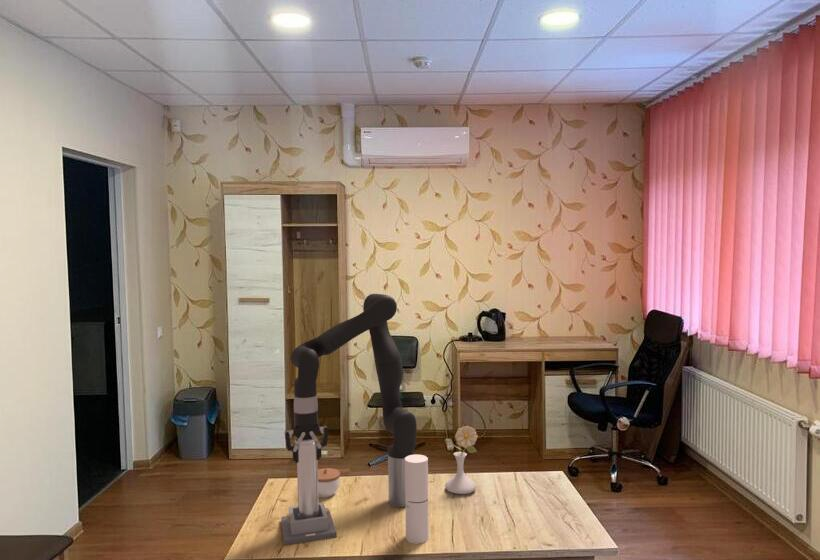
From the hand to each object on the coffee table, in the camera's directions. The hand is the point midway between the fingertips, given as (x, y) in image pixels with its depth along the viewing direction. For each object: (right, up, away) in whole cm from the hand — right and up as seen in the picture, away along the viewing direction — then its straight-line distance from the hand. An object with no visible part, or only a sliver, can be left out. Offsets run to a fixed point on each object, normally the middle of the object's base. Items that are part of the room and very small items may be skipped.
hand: (307, 460), depth 181 cm
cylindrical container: (+35, -22, -6) cm, 42 cm away
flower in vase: (+53, -21, +28) cm, 63 cm away
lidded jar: (+2, -21, +27) cm, 35 cm away
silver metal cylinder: (0, -18, +1) cm, 18 cm away
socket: (0, -22, +1) cm, 22 cm away
